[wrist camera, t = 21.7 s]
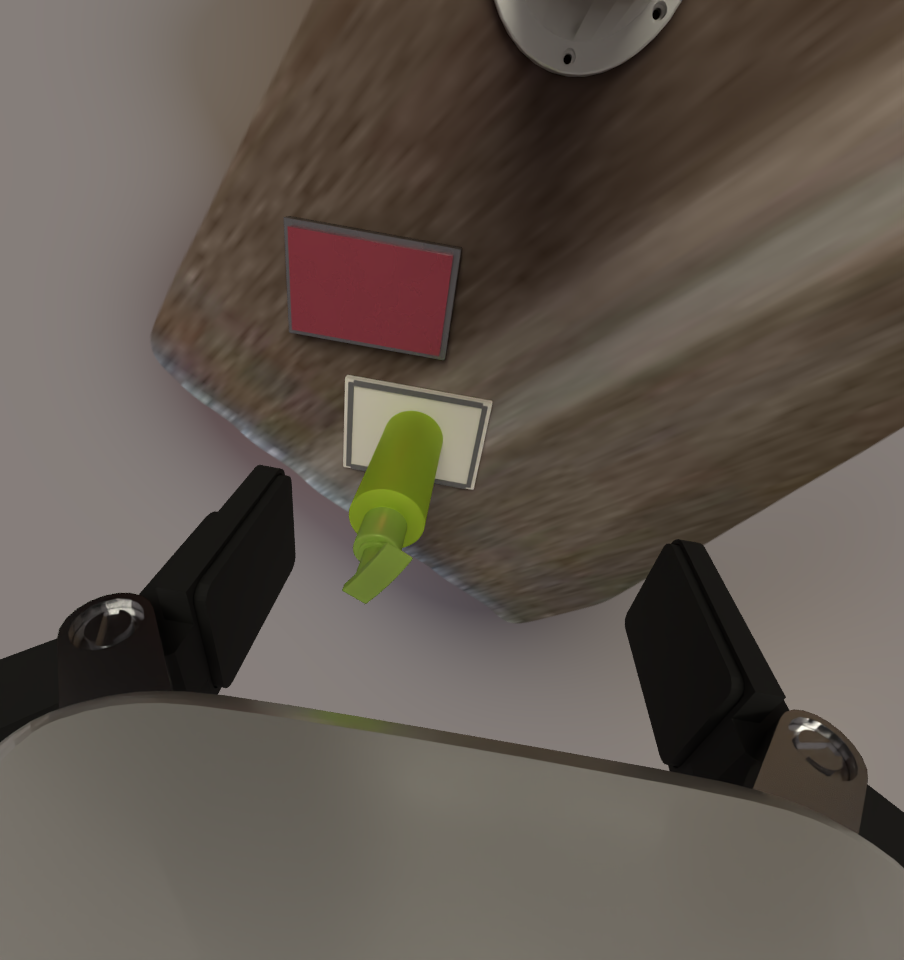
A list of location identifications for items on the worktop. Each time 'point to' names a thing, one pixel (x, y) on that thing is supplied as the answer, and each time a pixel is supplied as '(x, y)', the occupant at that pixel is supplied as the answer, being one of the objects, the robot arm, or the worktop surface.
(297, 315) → the ink pad
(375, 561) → the soap dispenser
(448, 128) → the worktop surface
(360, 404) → the marked card
